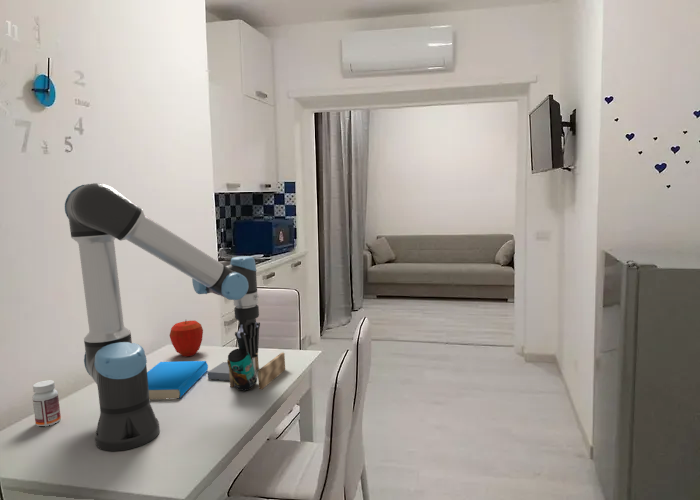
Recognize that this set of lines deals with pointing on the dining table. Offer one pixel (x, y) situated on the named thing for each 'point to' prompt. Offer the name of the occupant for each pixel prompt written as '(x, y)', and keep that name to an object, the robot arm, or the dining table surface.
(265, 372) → the slot rack
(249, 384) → the beverage can
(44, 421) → the pill bottle
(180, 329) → the apple
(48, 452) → the dining table surface
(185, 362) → the book
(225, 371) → the stand
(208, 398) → the dining table surface
